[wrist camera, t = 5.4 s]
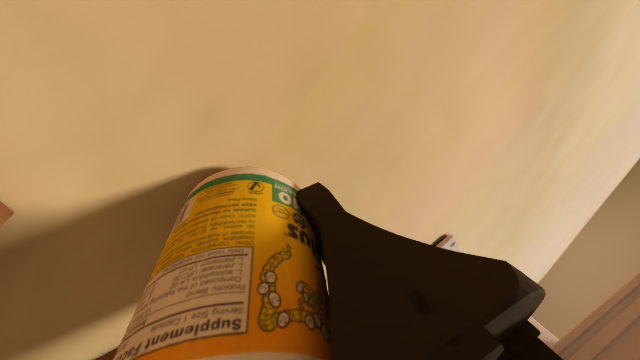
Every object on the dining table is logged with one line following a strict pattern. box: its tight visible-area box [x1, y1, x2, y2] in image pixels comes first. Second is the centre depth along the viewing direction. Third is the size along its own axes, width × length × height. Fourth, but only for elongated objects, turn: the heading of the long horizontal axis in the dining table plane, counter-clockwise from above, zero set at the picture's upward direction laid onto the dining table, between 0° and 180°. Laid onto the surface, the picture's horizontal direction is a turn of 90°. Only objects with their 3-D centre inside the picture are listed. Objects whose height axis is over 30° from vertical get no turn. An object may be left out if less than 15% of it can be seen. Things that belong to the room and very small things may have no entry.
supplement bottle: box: [113, 167, 331, 360], centre depth 7 cm, size 5×5×10 cm
